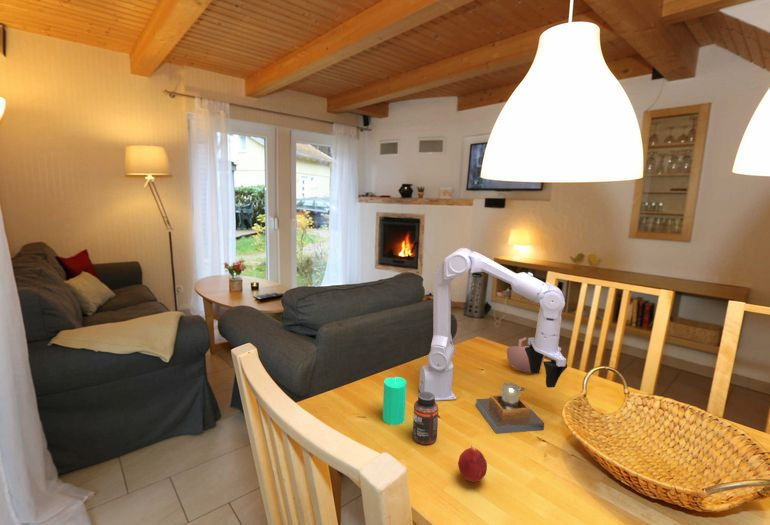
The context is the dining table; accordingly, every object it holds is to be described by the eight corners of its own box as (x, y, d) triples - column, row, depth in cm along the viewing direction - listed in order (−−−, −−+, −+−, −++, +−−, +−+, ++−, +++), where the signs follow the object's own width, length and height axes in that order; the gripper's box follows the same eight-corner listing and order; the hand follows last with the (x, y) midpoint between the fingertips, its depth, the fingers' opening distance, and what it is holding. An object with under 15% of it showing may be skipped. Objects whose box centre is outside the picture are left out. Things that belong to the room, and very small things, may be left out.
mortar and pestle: (535, 363, 138) (538, 333, 136) (547, 379, 126) (551, 346, 124) (501, 362, 139) (504, 331, 137) (510, 377, 127) (514, 345, 125)
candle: (407, 414, 104) (409, 373, 102) (402, 427, 98) (404, 383, 96) (385, 410, 106) (387, 369, 103) (379, 422, 100) (381, 379, 98)
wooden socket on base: (496, 433, 97) (497, 417, 96) (475, 405, 109) (477, 391, 109) (543, 430, 99) (545, 414, 98) (518, 402, 112) (519, 388, 111)
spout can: (505, 415, 101) (507, 391, 100) (497, 406, 106) (499, 382, 104) (527, 414, 102) (529, 389, 101) (518, 405, 107) (521, 381, 105)
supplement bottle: (436, 431, 97) (439, 390, 95) (437, 447, 91) (440, 403, 89) (412, 429, 97) (414, 388, 95) (411, 444, 92) (414, 401, 89)
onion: (490, 480, 81) (493, 446, 79) (476, 495, 77) (480, 459, 75) (466, 466, 85) (468, 434, 83) (451, 480, 80) (454, 446, 79)
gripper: (579, 341, 95) (572, 392, 98) (546, 322, 109) (541, 367, 112) (553, 342, 94) (547, 394, 96) (523, 322, 108) (518, 368, 110)
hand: (542, 379), depth 104 cm, fingers open, 7 cm apart
